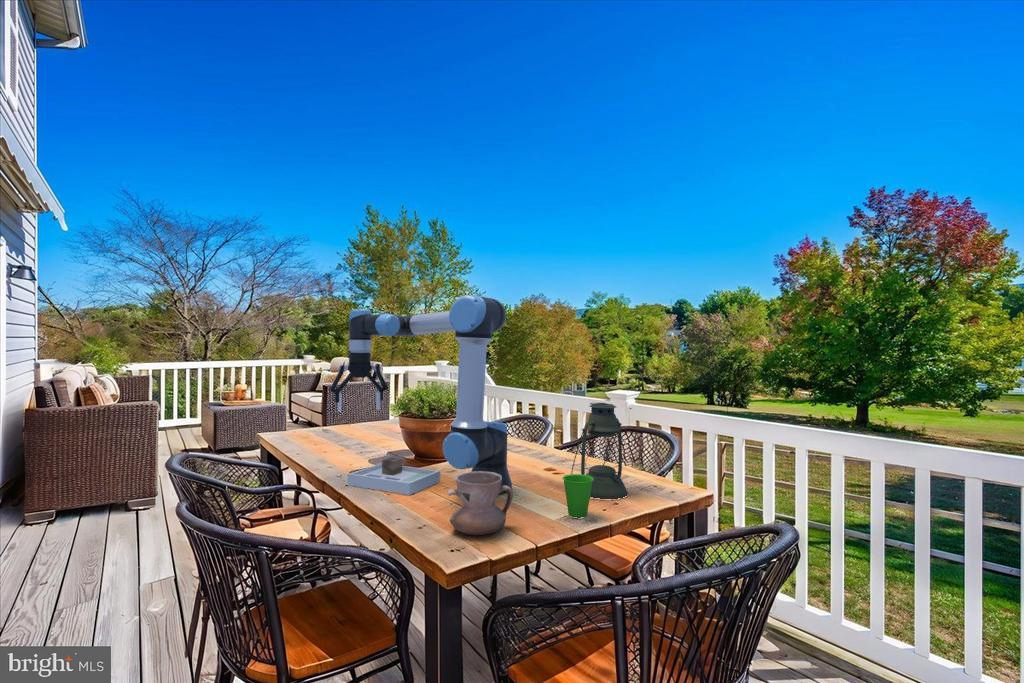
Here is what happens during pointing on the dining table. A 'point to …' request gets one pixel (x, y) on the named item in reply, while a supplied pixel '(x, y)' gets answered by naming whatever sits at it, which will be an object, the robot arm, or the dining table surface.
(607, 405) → the lantern
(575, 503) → the cup
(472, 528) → the ceramic jug
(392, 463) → the walnut block
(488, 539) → the dining table surface
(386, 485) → the box
